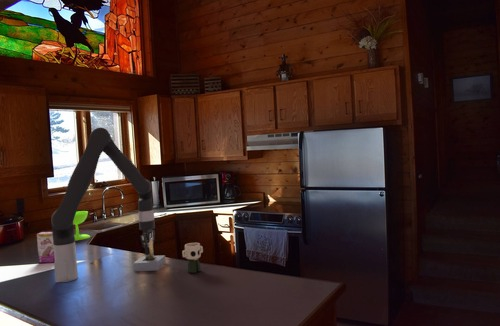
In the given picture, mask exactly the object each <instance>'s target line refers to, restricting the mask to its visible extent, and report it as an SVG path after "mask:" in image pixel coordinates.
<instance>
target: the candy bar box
mask: <svg viewBox="0 0 500 326" xmlns="http://www.w3.org/2000/svg"><path fill="white" fill-rule="evenodd" d="M36 244H37V256H38V258H37V259H38V263H39V264H40V263H41V264H42V263H43V264H44V263H46V264H47V263H54V262H55V256H54V244H53V233H52V231H41V232H39V233H37V234H36Z"/></svg>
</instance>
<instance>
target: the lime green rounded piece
mask: <svg viewBox="0 0 500 326" xmlns="http://www.w3.org/2000/svg"><path fill="white" fill-rule="evenodd" d="M88 213H89V211H87V210H86V211H85V210H82V211H76V214H75V217H74V220H73V226H74V225H75V233H74V236H75V242H76V241H83V240H86V239H89V238H91V235H89V234H80V230H79V225H80V224H82V223H83V222H85V221H86V220H87V217H88V215H89V214H88Z"/></svg>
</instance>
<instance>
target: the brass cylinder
mask: <svg viewBox="0 0 500 326" xmlns="http://www.w3.org/2000/svg"><path fill="white" fill-rule="evenodd" d="M147 241H148V240H147ZM149 248H150V254H149V255H145V254H144V256H145V258H146V261H152V260H154V256H155V255H154V242H152V239H150V243H149Z"/></svg>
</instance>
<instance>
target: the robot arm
mask: <svg viewBox="0 0 500 326" xmlns="http://www.w3.org/2000/svg"><path fill="white" fill-rule="evenodd" d="M102 153H104V154H105V155H106V156H107V157H108V158H109V159H110V160H111V161H112V163H113V164H114V165H115V167H116V168H117V169H118V170H119V171H120V173H121V174H122V176H124V177H125V178H126V179H127V180H128V181H129V183H130V185H131V186H132V187H133V189H134V190H135V191H136V192H137V193H138V201H137V207H138V208H137V209H138V215H137V216H138V224H139V225H138V227H139V230H140V231H142V235H140V242H141V247H142V248H144V256H145V255H149V254H150V248H149V243H150V239H152V242H153V243H155V233H156V231H155V230H154V229H156V224H155V213H154V207H153V206H154V203H153V185H152V182H151V181H150V180H149V179H146V178H145V177H144V176H143V175H142V174H141V173H140V170H139V169H138V167H137V166H136V165H135V164H134V163H133V162H132V161H131V159H129V158H128V157H127V156H126V154H124V153H123V152H122V151H121V150H120V148H119V147H118V146H117V145H116V143H115V142H114V140H113V138H112V136H111V133H110V132H109V131H108V130H107V128H105V127H97V128H94V129H93V130H92V131H91V133H90V134H89V138H88V141H87V144H86V146H85V149H84V151H83V154H82V155H81V156H80V159H79V160H78V161H77V164H76V165H75V167H74V169H73V172H72V174H71V176H70V178H69V181H68V184H67V186H66V189H65V192H64V197H63V198H62V201H61V202H60V204H59V206H58V208H57V209H56V210H55V211H54V212H53V213H52V214H51V219H50V220H51V232H52V233H53V244H54V256H55V262H53V267H54V277H55V278H54V279H55V283H69V282H72V281H75V280H77V279H78V278H79V272H78V264H77V263H78V261H77V260H78V259H77V248H76V241H75V236H74V235H75V229H74V224H73V220H74V217H75V214H76V212H78V208H79V205H80V203H81V202H82V200H83V198H84V197H85V195H86V193H87V191H88V190H89V188H90V186H91V183H92V181H93V179H94V177H95V174H96V171H97V167H98V165H99V164H98V163H99V159H100V157H101V155H102ZM147 240H148V241H147Z"/></svg>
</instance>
